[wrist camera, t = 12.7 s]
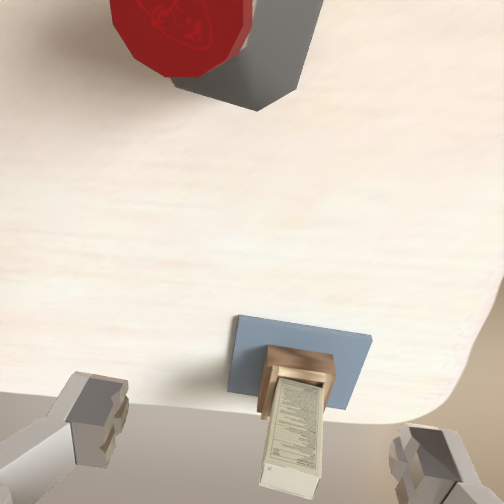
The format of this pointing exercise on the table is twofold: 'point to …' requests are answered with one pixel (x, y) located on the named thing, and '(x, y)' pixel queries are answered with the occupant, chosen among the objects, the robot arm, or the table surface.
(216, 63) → the liquor
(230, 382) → the blue board
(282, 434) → the skincare box
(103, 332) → the table surface
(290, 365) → the walnut tray
